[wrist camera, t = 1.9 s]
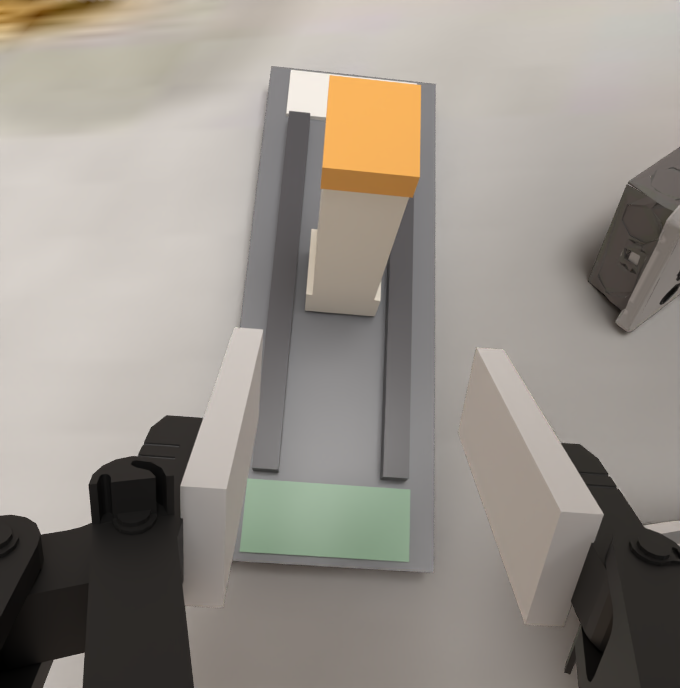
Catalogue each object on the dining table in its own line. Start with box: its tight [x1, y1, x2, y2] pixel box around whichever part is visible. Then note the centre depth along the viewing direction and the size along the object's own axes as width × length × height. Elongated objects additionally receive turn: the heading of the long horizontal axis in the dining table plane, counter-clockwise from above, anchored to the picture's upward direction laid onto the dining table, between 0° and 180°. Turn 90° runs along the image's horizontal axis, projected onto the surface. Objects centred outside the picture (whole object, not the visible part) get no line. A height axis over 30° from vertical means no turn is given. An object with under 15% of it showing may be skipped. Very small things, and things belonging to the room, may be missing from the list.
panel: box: [232, 66, 436, 573], centre depth 33 cm, size 10×28×3 cm, turn 177°
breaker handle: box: [305, 75, 421, 316], centre depth 26 cm, size 4×4×12 cm
